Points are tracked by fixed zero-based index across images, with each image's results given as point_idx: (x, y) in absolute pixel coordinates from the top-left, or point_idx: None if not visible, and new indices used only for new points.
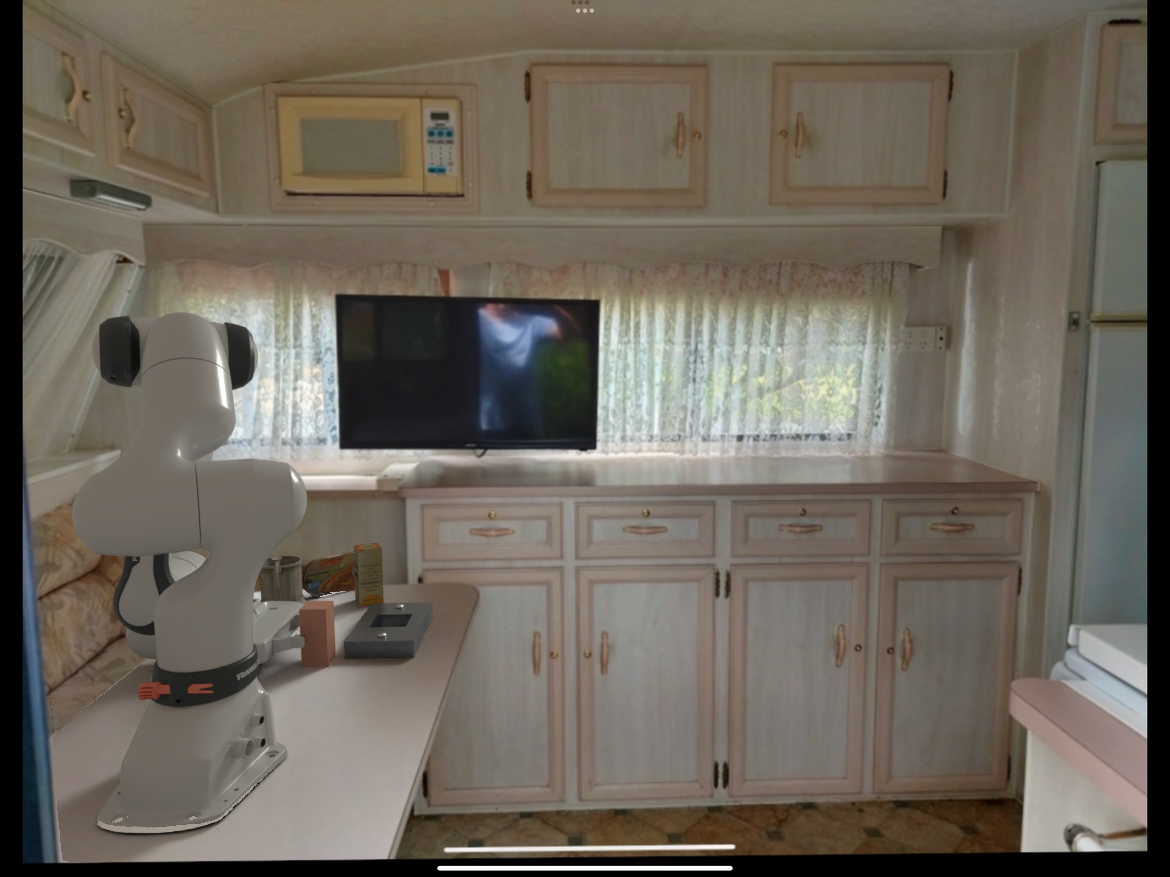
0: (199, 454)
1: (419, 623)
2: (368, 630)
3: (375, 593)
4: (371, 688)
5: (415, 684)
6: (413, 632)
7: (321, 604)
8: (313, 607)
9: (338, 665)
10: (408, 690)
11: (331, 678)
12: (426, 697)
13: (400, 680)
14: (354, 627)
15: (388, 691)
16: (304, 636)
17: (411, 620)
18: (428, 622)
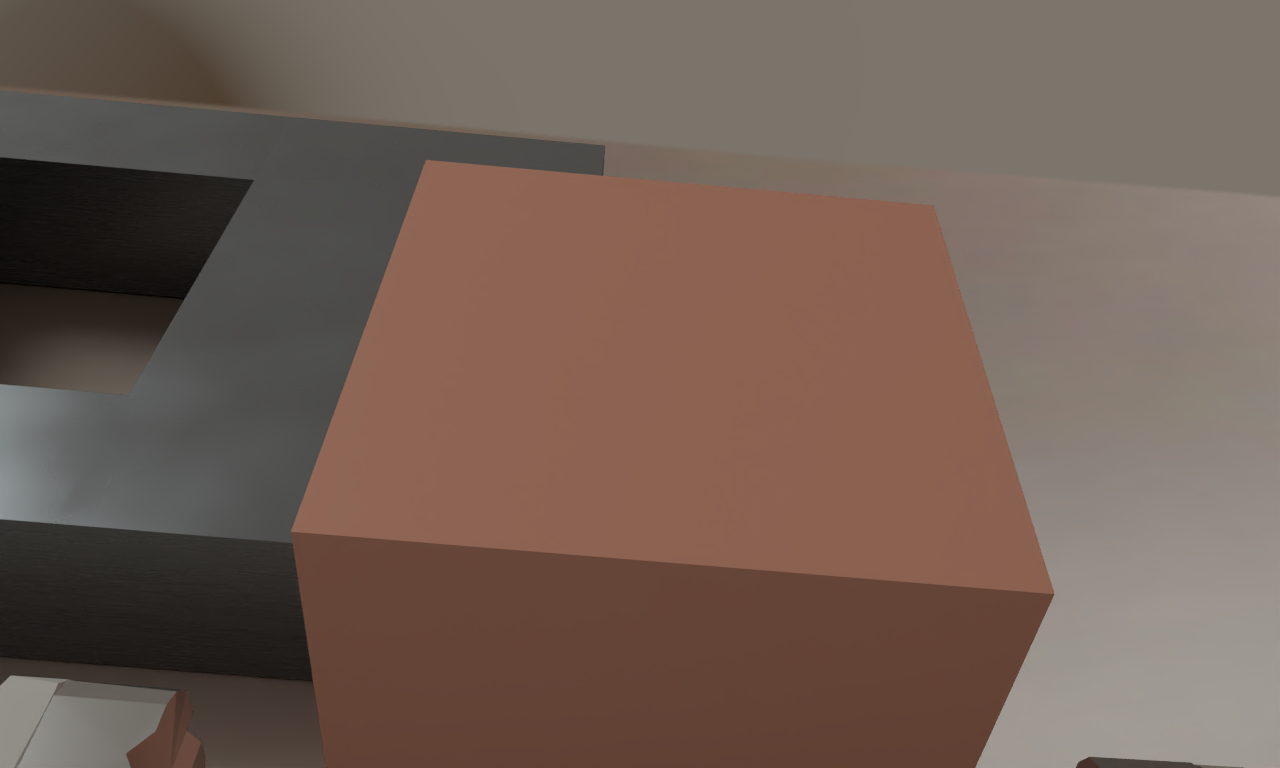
0: None
1: (210, 121)
2: (241, 390)
3: None
4: (1167, 437)
5: (1038, 254)
6: (424, 145)
7: (642, 275)
8: (845, 362)
9: None
10: (1130, 277)
11: (1062, 734)
12: (1190, 218)
13: (996, 312)
14: (54, 518)
15: (1179, 355)
16: (1154, 764)
17: (100, 153)
18: None
